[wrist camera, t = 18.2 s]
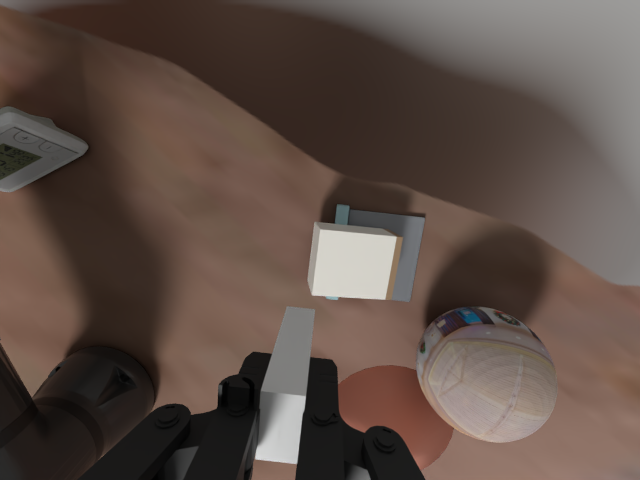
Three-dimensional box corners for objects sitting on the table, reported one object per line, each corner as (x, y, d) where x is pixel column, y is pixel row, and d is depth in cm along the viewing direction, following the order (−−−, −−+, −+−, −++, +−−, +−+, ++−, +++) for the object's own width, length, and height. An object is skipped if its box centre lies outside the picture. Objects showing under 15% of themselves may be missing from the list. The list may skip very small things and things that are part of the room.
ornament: (525, 353, 45) (619, 439, 31) (433, 398, 47) (479, 499, 33) (480, 269, 43) (559, 320, 28) (385, 320, 45) (412, 392, 30)
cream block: (311, 295, 37) (391, 299, 38) (320, 229, 35) (403, 237, 37) (307, 280, 41) (378, 285, 43) (314, 221, 40) (387, 229, 41)
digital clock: (8, 193, 43) (-76, 199, 34) (-17, 136, 41) (-112, 126, 32) (101, 170, 42) (39, 169, 33) (79, 111, 40) (8, 93, 31)
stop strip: (326, 294, 44) (326, 298, 43) (336, 204, 41) (337, 205, 40) (337, 295, 44) (337, 300, 43) (348, 205, 41) (349, 206, 40)
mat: (339, 292, 44) (339, 294, 44) (349, 209, 42) (350, 209, 41) (408, 300, 44) (409, 301, 44) (423, 217, 42) (425, 217, 41)
